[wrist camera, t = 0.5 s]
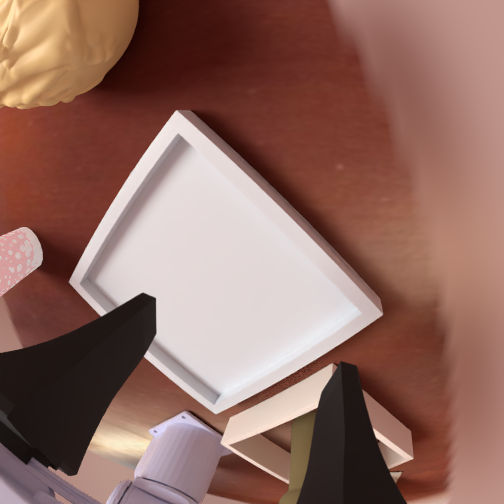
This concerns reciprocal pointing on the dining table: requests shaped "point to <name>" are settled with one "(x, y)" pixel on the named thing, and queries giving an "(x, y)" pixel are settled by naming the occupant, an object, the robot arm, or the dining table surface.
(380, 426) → the cream bin
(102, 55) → the sculpture
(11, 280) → the beverage cup
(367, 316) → the light grey tray
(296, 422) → the cork
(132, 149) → the dining table surface
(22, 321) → the dining table surface
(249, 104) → the dining table surface
